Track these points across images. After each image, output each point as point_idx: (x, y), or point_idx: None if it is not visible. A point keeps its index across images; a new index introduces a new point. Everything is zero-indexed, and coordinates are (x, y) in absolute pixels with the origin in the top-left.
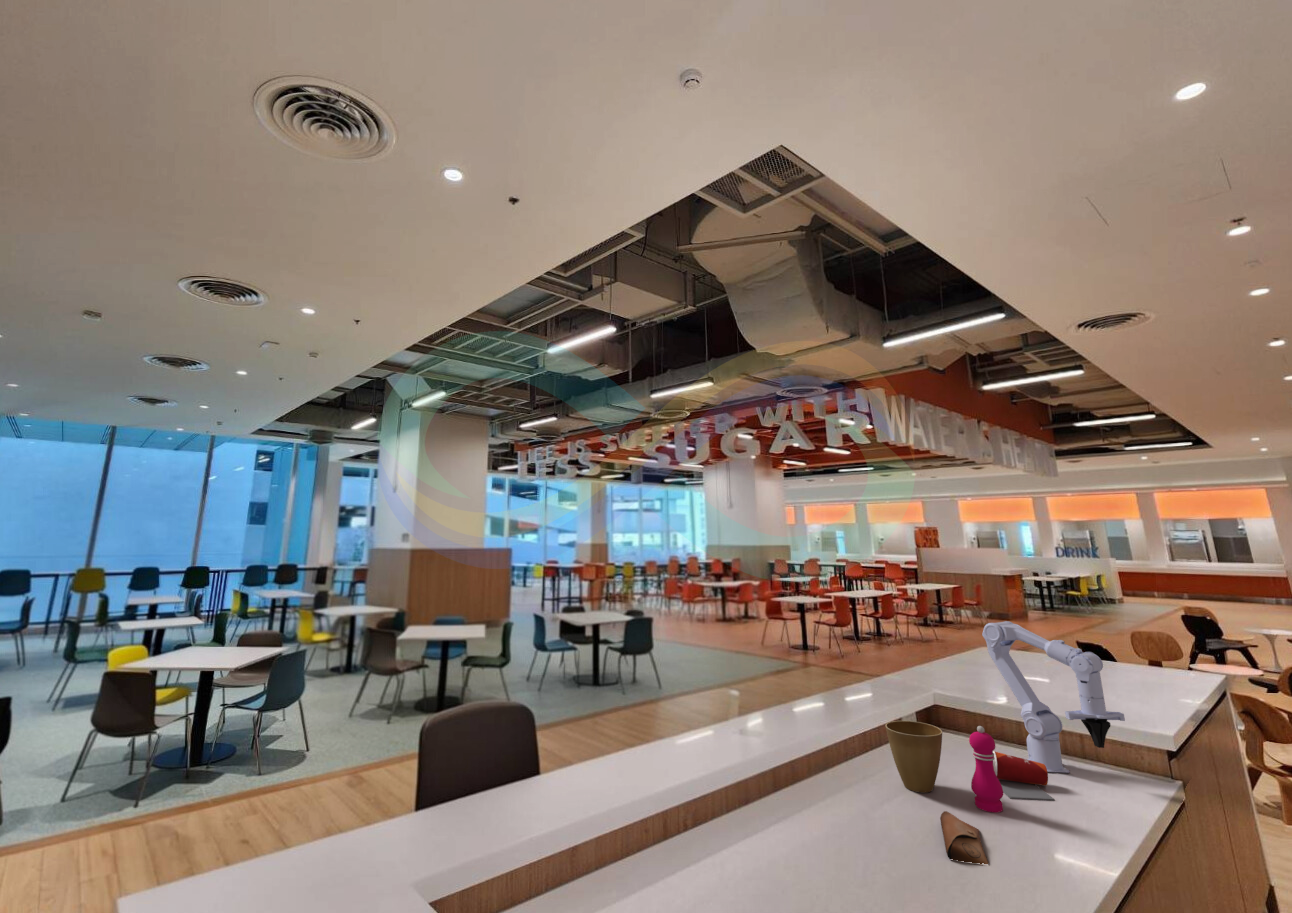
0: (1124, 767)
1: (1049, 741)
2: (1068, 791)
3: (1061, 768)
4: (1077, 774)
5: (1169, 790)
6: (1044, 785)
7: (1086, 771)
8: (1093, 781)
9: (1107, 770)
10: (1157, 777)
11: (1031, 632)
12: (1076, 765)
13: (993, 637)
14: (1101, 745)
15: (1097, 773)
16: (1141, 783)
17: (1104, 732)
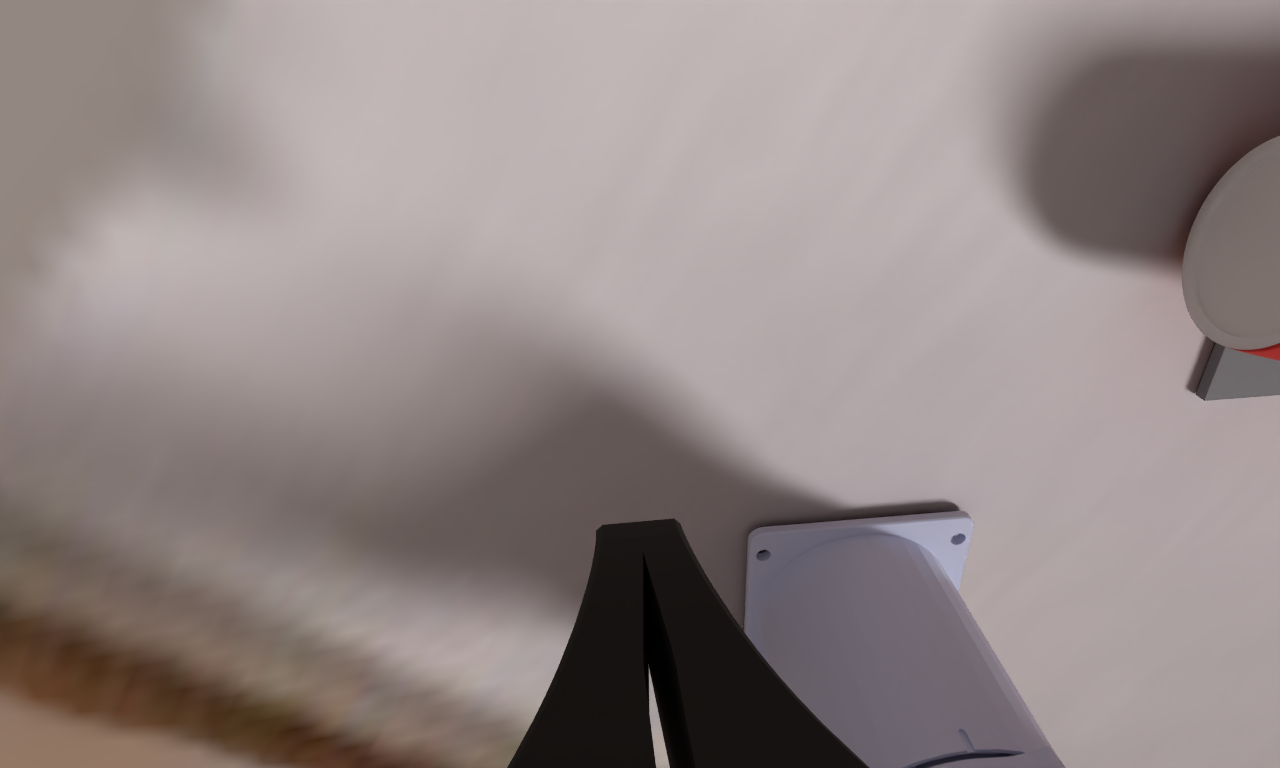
0: (254, 702)
1: (989, 746)
2: (1055, 115)
3: (800, 564)
4: (698, 519)
5: (45, 313)
6: (1236, 175)
7: None
8: (653, 401)
9: (411, 631)
10: (63, 574)
11: None
12: None
13: None
14: (647, 537)
15: (522, 565)
16: (248, 430)
17: (585, 734)
